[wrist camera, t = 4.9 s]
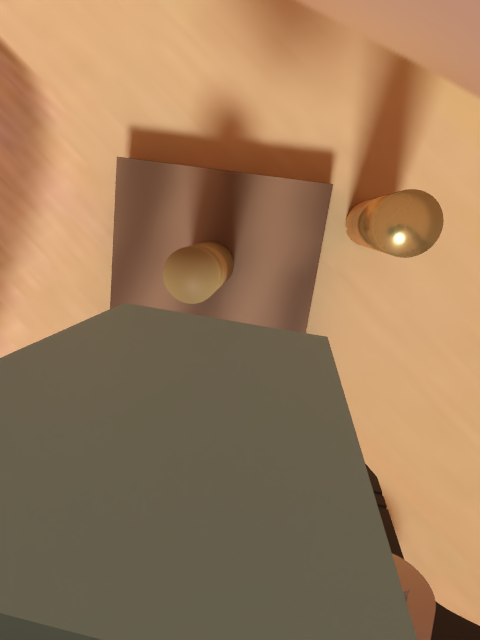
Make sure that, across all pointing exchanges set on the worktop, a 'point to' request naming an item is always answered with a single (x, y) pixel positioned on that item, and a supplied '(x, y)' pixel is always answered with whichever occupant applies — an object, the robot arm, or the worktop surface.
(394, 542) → the robot arm
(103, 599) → the block
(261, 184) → the board
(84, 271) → the worktop surface
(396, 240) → the pin
